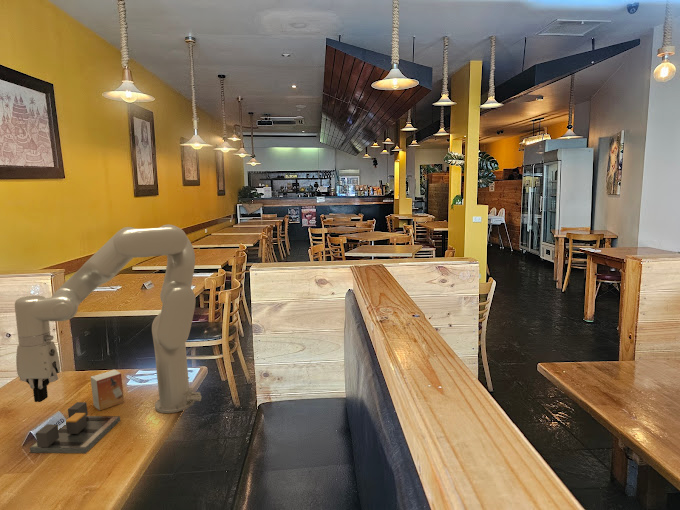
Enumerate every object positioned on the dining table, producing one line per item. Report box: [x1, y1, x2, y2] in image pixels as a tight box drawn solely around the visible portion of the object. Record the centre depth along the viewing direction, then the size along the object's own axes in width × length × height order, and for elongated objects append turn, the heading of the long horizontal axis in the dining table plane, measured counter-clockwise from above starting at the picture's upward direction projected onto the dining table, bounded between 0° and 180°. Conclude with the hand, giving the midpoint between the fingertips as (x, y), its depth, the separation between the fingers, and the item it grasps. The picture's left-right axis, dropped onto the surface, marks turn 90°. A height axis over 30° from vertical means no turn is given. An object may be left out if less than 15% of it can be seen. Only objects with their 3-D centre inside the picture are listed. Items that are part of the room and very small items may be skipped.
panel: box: [29, 415, 121, 454], centre depth 129 cm, size 16×17×2 cm
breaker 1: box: [35, 423, 59, 447], centre depth 122 cm, size 3×4×4 cm
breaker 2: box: [67, 401, 89, 418], centre depth 135 cm, size 3×4×4 cm
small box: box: [90, 369, 125, 412], centre depth 147 cm, size 8×6×10 cm
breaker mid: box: [65, 413, 87, 434], centre depth 128 cm, size 3×4×4 cm
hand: (41, 399), depth 127 cm, fingers closed
